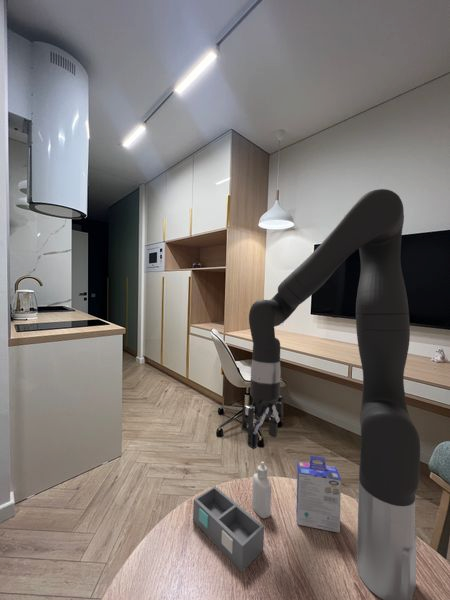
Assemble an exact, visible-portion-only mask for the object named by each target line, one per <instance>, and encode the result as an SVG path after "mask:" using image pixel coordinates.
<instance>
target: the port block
mask: <svg viewBox="0 0 450 600" xmlns="http://www.w3.org/2000/svg"><path fill="white" fill-rule="evenodd" d="M192 522H194V523H195V524H196V525H197V526H198V528H199V529H200V530H201V531H202V532H203V533H204V534H205V535H206V537H208V538H209V539H210V540H211V541H212V543H214V545H215V546H216V547H217V548H218V549H219V550H220V551H221V553H223V554H224V555H225V556H226V557H227V559H228V560H229V561H230V562H231V563H232V564H233V565H234V566H235V567H236V568H237V569H238V570H239V571H240V572H241V573H243V572H244V571H245V569H247V568H248V567H249V566H250V564H252V562H253V561H254V560H255V559H256V558H257V557H258V556H259V555H260V554H261V553H262V552H263V551H264V538H265V526H264V524H262V523H261V522H260V521H258V520H257V519H256V518H255V517H254V516H252V515H251V514H250V513H248V512H247V511H246V510H245V508H244V507H243V508H242V506H240V505H239V504H237V502H235V501H234V500H233V499H231V498H230V497H229V496H228V495H227V494H225V493H224V492H223V491H222V490H221V489H219V488H218V487H217V486H216V485H214V486H213V487H211V488H209V489H207V490H206V491H204V492H203V493H202V494H200V495H198V496H196V497H195V498H194V499H193V511H192Z"/></svg>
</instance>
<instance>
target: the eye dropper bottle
mask: <svg viewBox="0 0 450 600" xmlns="http://www.w3.org/2000/svg"><path fill="white" fill-rule="evenodd" d="M251 494H252V496H251V497H252V498H251V506H252V508H253V510H254V512H255V513H256V515H258V516H259V517H260V518H262V519H266V518H269V517H270V516H271V513H272V512H271V509H272V507H271V504H272V502H271V501H272V484H271V482H270V479H269V478H268V468H267V466H266V465H265V461H261V462H260V465H258V466H257V472H256V473H254V474H253V477H252V493H251Z"/></svg>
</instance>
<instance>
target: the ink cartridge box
mask: <svg viewBox="0 0 450 600" xmlns="http://www.w3.org/2000/svg"><path fill="white" fill-rule="evenodd" d="M317 460H318V461H319V462H322V464H320V463H315V462H313V461H317ZM296 463H297V466H296V467H297V471H296V472H297V473H296V509H295V515H296V516H295V517H296V524H297V525H298V526H302V527H303V526H304V527H309V528H312V529H313V528H314V529H320V530H323V531H329V532H334V533H338V534H339V533H341V494H342V492H341V491H342V478H341V476H340V474H339V470H338V468H337V466H331V465H327V464H326V458H325V457H322V456H318V455H317V456H316V455H309V462H304V461H303V462H301V461H297V462H296Z"/></svg>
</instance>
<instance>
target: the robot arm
mask: <svg viewBox="0 0 450 600" xmlns="http://www.w3.org/2000/svg"><path fill="white" fill-rule="evenodd" d="M404 208H405V207H404V204H403V201H402V198H401V197H400V195H398V194H397V193H396V192H394V191H393V190H390V189H387V188H386V189H385V188H379V189H374V190H371V191H368V192H367V193H365V194H363V195H362V196H360V197H359V198H358V199H357V200H356V201H355V203H354V204H353V205H352V206H351V207H350V209H349V210H348V211H347V212H346V213H345V215H344V216H343V217H342V219H341V220H340V221H339V222H338V223H337V225H336V226H335V228H334V229H333V230H332V231H331V232H330V233H329V234H328V235H327V237H326V238H324V240H323V241H322V242H321V243H320V245H319V246H317V248H315V250H314V251H313V252H312V253H311V254H310V255H309V256H308V257H307V258H306V259H305V260H303V262H302V263H301V264H300V265H299V266H297V267H296V268H295V269H294V270H293V271H292V272H291V273H290V274H289V275H288V276H287V277H285V279H283V280H282V282H280V284H279V285H278V286H277V293H276V294H275V295H274V296H273V297H272V298H270V299H257V300H256V301H255V302H253V304H252V305H251V307H250V309H249V312H248V324H249V330H250V335H251V339H252V359H251V367H250V382H249V383H250V385H249V386H250V387H249V388H250V389H249V394H250V396H251V398H252V403H251V404H250V405H247V404H244V406H243V407H242V418H241V419H242V420H241V430H242V431H243V432H244V433H245V432H246V433H247V446H248V447H249V448H251V449H252V450H256V449H257V447H258V431H259V428H260V427H261V426H262V425H263V423H264V422H265V420H267V419H269V421H268V435H269V436H270V437H273V438H276V437H277V436H278V426H279V425H278V424H279V422H280V419H283V418H284V396H283V395H281V374H282V373H281V371H282V369H281V342H280V340H279V339H278V338H277V337H276V333H275V331H276V330H275V327H277V326H280V325H282V324H283V323H284V322H286V320H288V319H289V317H290V316H292V314H293V313H294V312H295V311H296V309H297V308H298V307H299V306H300V305H301V304H303V303H304V302H305V301H306V300H307V299H309V298H310V297H311V296H312V295H313V294H315V293H316V292H317V291H318V290H319V289H320V288H322V287H323V285H324V284H325V283H326V282H327V281H328V280H329V278H331V276H332V275H333V274H334V273H335V271H336V270H337V269H338V268H339V267H340V266H341V265H342V263H344V262H345V261H346V260H347V259H348V257H350V256H351V255H352V254H354V253H355V252H356V251H357V250H358V251H359V258H360V273H359V281H358V286H357V293H356V294H357V295H356V299H355V300H356V302H355V326H356V327H355V328H356V340H357V347H358V352H359V358H360V363H361V369H362V396H361V406H360V408H361V409H360V415H359V422H360V423H359V424H360V457H359V458H360V461H359V462H360V463H359V467H358V469H359V470H358V503H357V504H358V506H357V538H356V539H357V541H356V543H357V544H356V548H357V549H356V569H357V573H358V575H359V578H360V579H361V581H362V582H363V583H364V585H365V587H367V589H368V590H370V591H371V592H372V593H373V595H375V596H376V597H378V598H380V599H381V600H413V598H414V594H415V591H416V587H417V546H418V544H417V543H418V542H417V541H418V538H417V537H418V536H417V534H416V533H415V526H416V525H415V523H416V522H415V519H416V513H415V512H416V493H417V490H418V488H419V485H420V484H419V483H420V465H421V463H420V462H421V440H420V435H419V431H418V430H417V428H416V426H415V424H414V423H413V420H412V419H411V417H410V414H409V411H408V406H407V400H406V393H405V386H404V385H405V384H404V382H405V381H404V375H405V368H406V363H407V360H408V359H407V358H408V352H409V349H410V347H409V346H410V339H411V338H410V337H411V336H410V335H411V330H410V327H411V326H410V312H409V311H410V310H409V303H408V302H409V301H408V295H407V290H406V285H405V280H404V275H403V271H402V264H401V253H402V252H401V249H402V248H401V247H402V235H403V227H404V222H405V220H404V219H405V213H404V210H405V209H404ZM278 411H279V412H278ZM256 418H257V419H256Z"/></svg>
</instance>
